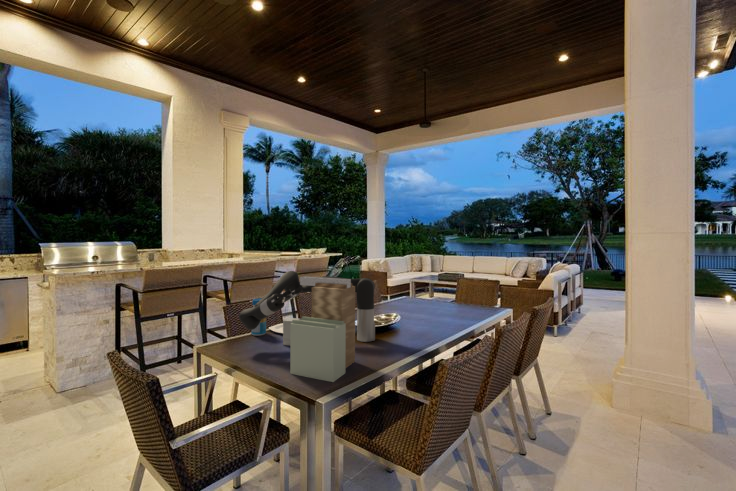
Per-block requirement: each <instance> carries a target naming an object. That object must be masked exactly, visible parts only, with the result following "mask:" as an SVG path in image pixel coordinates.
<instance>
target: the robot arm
mask: <svg viewBox="0 0 736 491" xmlns="http://www.w3.org/2000/svg"><path fill="white" fill-rule="evenodd" d="M321 277H322V278H339V279H348V278H346V277H339V276H325V275H324V276H321ZM350 279H351V283H352V286H355V293H356V306H357V307H356V328H357V329H356V340H357V341H358V342H365V343H368V342H372V341H375V340H376V323H375V301H374V300H375V299H374V298H375V296H374V293H375V287H376V286H375V282H374V281H373V280H372V279H371V278H368V277H363V278H350ZM312 287H315V286H308V285H300V277H299V275H298V272H296V271H294V270H288V271H285V272H284V273H283V274H282V276H280V278H279V279H278V280H277V282H276V283H275V284H274V285H273V286H272V288H271V289H269V291H268V292H267V293H266V294H265V295H264V296H263V297H261V298H262V299H261V300H260V301H259V302H258V303H256V304H255V306H254V307H253V306H252V307H249V308H245V309H244V310H241V311H240V312H239V315H238V319H239V321H240V322H241V323H242V324H243V325H244V327H245V328H246V329H247V330H249V331H251V330H253V329H255V328H256V327H257V326H258V325H259V323H260V321H261V320H262V319H264V318H266V319H267V317H269V316H270V315H273V314H275V313H277V312H278V311H279V310H281V309H283V308H284V307H285V303H286V302H289V301H291V300H293V299H294V298H296V297H297V296H300V293H302V294H303V293H312Z"/></svg>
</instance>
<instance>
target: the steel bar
mask: <svg viewBox="0 0 736 491" xmlns="http://www.w3.org/2000/svg"><path fill="white" fill-rule="evenodd" d="M322 277H323V276H319V277H318V276H305V275H304V276H300V277H299V282H300V285H308V286H315V283H326V284H340V285H347V288H350V287H351V279H352V278H347V279H339V278H322Z"/></svg>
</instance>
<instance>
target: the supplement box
mask: <svg viewBox="0 0 736 491" xmlns="http://www.w3.org/2000/svg"><path fill="white" fill-rule="evenodd" d="M292 320H302V318H298V317H297V318H296V317H289V318H286V319H285V320H283V321H282V323H283V334H282V345H283V346H290V324H291V323H292Z"/></svg>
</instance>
